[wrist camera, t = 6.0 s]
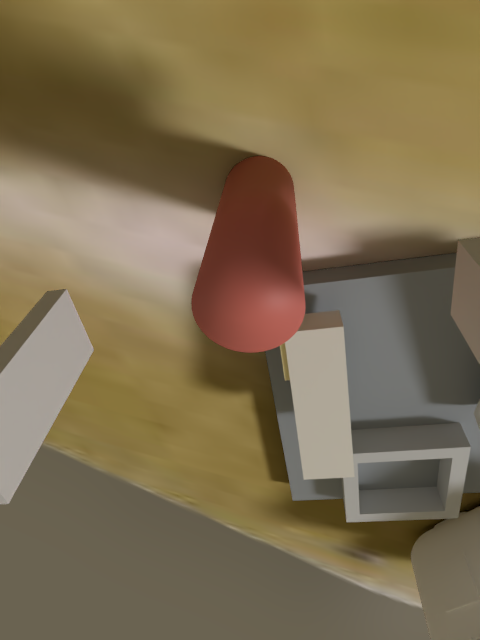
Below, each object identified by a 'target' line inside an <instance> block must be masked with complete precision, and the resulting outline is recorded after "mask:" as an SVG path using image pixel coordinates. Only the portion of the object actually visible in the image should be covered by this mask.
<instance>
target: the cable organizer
mask: <svg viewBox="0 0 480 640" xmlns="http://www.w3.org/2000/svg"><path fill="white" fill-rule="evenodd" d="M411 562H412V566H413V570H414V574H415V578H416V582H417V586H418V590H419V594H420V599H421V603H422V607H423V611H424V615H425V619H426V623H427V627H428V631H429V635H430V639H431V640H480V506H479V507H477V508H475V509H473V510H471V511H469V512H461V513H459V517H458V518H453V519H446V520H444V521H442V522H440V523H438V524H436V525H435V526H434V528H433V529H431V530H429V531H427V532H425V533H424V534H422V535H421V536H420V537H419V538H418V539H417V541H416V542H415V544H414V546H413V548H412V551H411Z"/></svg>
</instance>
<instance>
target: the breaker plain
mask: <svg viewBox="0 0 480 640" xmlns="http://www.w3.org/2000/svg"><path fill="white" fill-rule="evenodd" d="M474 416H475V419H476V422H477V424H478V427H479V430H480V400H479V402H478V404H477V406H476V409H475V411H474Z"/></svg>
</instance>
